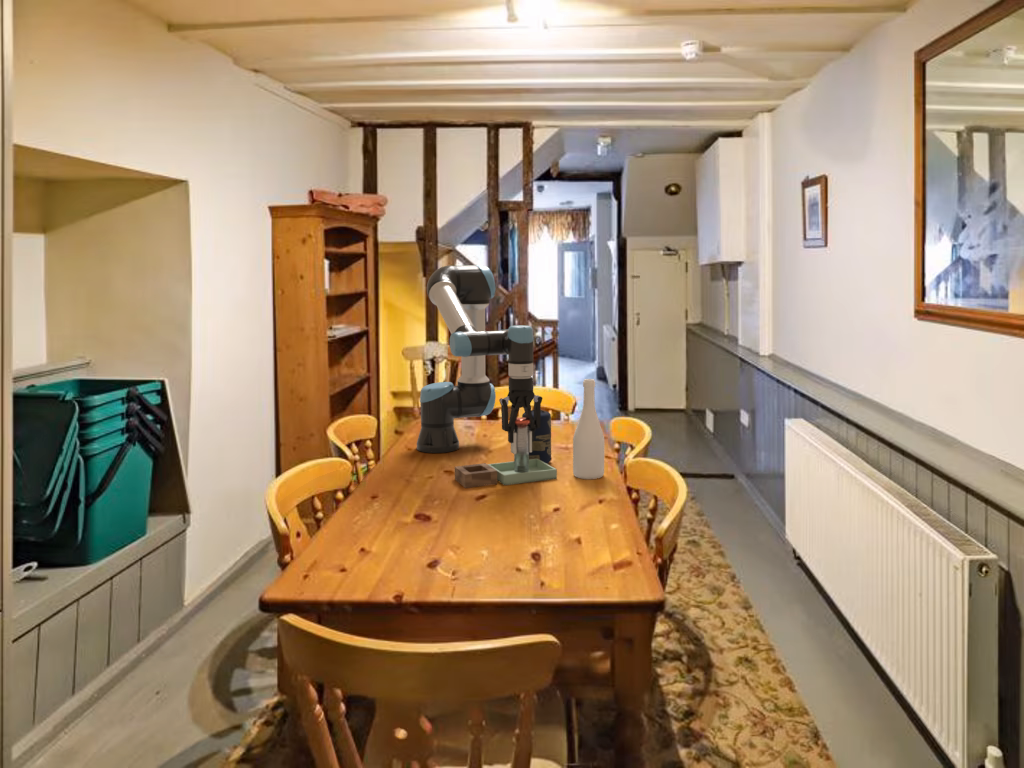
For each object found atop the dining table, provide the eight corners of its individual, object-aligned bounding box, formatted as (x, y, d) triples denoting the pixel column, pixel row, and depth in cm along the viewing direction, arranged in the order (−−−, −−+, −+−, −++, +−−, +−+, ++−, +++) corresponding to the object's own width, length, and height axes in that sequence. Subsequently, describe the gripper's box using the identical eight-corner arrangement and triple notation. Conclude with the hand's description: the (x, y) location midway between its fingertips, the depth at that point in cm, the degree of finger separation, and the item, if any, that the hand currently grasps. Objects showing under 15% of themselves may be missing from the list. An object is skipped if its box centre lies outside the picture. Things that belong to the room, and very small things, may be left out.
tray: (487, 473, 233) (487, 464, 233) (537, 467, 239) (537, 458, 239) (504, 485, 220) (504, 475, 220) (556, 478, 226) (556, 469, 226)
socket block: (454, 479, 227) (454, 466, 226) (485, 475, 231) (485, 463, 230) (465, 488, 218) (465, 474, 217) (497, 484, 221) (497, 471, 221)
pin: (509, 469, 231) (509, 418, 229) (526, 467, 233) (526, 416, 231) (516, 474, 226) (516, 421, 223) (533, 472, 228) (533, 420, 226)
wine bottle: (566, 476, 229) (567, 379, 225) (585, 470, 236) (586, 376, 232) (591, 481, 223) (592, 382, 218) (610, 475, 230) (611, 379, 225)
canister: (548, 467, 240) (548, 412, 237) (520, 465, 242) (519, 411, 239) (553, 459, 249) (553, 407, 247) (525, 458, 251) (525, 406, 249)
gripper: (498, 380, 218) (499, 457, 222) (552, 376, 225) (552, 452, 228) (489, 377, 225) (490, 452, 229) (542, 373, 232) (542, 446, 235)
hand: (521, 452), depth 229 cm, fingers closed on pin, 4 cm apart
